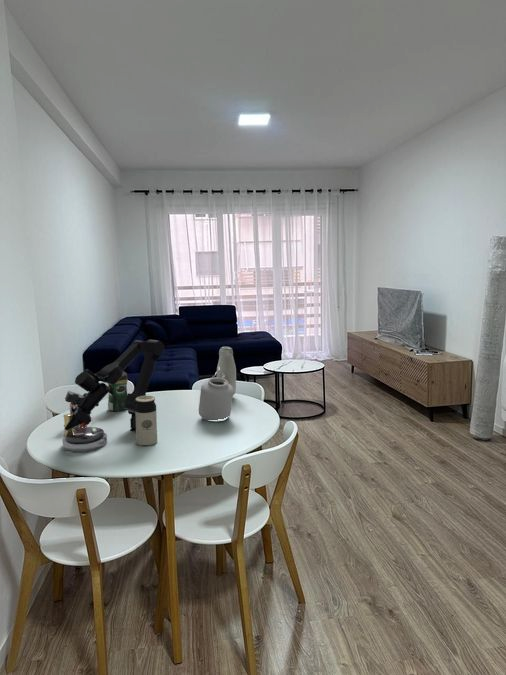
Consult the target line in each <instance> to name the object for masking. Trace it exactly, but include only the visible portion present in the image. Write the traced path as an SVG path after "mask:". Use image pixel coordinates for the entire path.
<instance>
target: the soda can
mask: <svg viewBox="0 0 506 675" xmlns="http://www.w3.org/2000/svg"><path fill="white" fill-rule="evenodd" d="M71 406H72V407H74V406H75V405H74V404H73V405H72V404H71V402H69V414H71ZM87 426H88V425H87V424H85V423H82V424H80V425H78V426H75V427H73V429H79V428H82V427H83V428H85V427H87Z"/></svg>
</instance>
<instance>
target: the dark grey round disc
mask: <svg viewBox="0 0 506 675" xmlns="http://www.w3.org/2000/svg"><path fill="white" fill-rule="evenodd" d="M107 444H108V436H107V433H105V432H104V437H103V438H101V439H100V440H97V441H95V442H91V443H85V444H72V443H68V442H66V440H65V437H64V438H63V439H62V449H63V450H64V451H66V452H68V453H73V454H74V453H77V454H78V453H80V454H81V453H87V452H88V453H89V452H93V451H96V450H99V449H102V448H104V447H105V446H106V445H107Z"/></svg>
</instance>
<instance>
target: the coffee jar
mask: <svg viewBox="0 0 506 675" xmlns="http://www.w3.org/2000/svg"><path fill="white" fill-rule="evenodd" d="M128 380H129V379H128V373H127V372H126V371H123V373H122V376H121V378H120V379H119V380H118V382H117V383H115V384H109V383H107V386H112V387H113V395H112V394H110V393H109V392H108V398H107V399H108V400H107V401H108V402H107V408H108V410H109V411H110V412H120V410H121V411H125V410H127V409H126V407H125V401H126V399H127V395H128V389H127V385H128Z"/></svg>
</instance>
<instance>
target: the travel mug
mask: <svg viewBox="0 0 506 675" xmlns="http://www.w3.org/2000/svg"><path fill="white" fill-rule="evenodd" d="M155 400H156V396H153V395H146V396H140V397H137V398H136V401H137V404H136V406H135V415H136V431H135V441H136V442H135V443H136V444H137V445H139V446H142V445H148V446H152V445H154V444H156V443H157V442H158V425H157V424H158V422H157V421H158V420H157V419H158V418H157V417H158V416H157V404H156V402H155ZM151 444H152V445H151Z"/></svg>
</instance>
